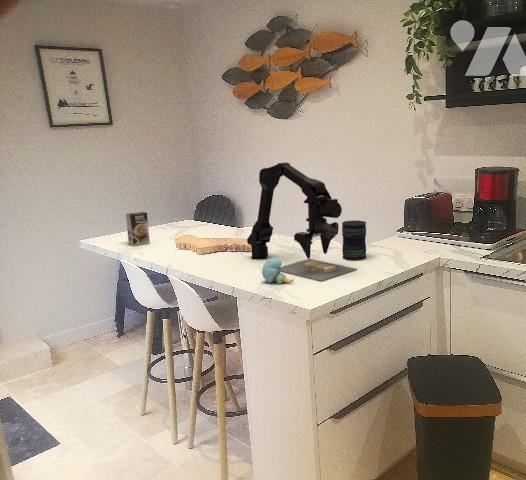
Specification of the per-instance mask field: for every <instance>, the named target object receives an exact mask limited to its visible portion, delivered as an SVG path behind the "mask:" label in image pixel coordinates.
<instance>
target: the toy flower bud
mask: <svg viewBox="0 0 526 480" xmlns="http://www.w3.org/2000/svg"><path fill="white" fill-rule="evenodd" d="M282 263H283V262H282V260H281V259H279V258H276V257H275V258H274V257H272V258H269V259H268V260H266V261H265V263H264V264H263V266H262V268H261V269H262V270H261V271H262V272H261V274H262V277H263V279H264V280H265V281H266V282H267V283H269V284H272V283H274V282H275V281H276V284H279V285H281V284H282V283H290V284H291V283H294V281H295V280H294V278H292V279H289V278H287V276H286V273H284V272H281V267H282Z"/></svg>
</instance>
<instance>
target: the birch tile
mask: <svg viewBox="0 0 526 480" xmlns="http://www.w3.org/2000/svg"><path fill="white" fill-rule="evenodd" d="M303 269H307V270H312V271H316V272H320V273H325V274H328V273H331V272H335V271H336V266H333V265H329V264H324V263H319V262H314V261H311V262H307V263H304V264H303Z"/></svg>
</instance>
